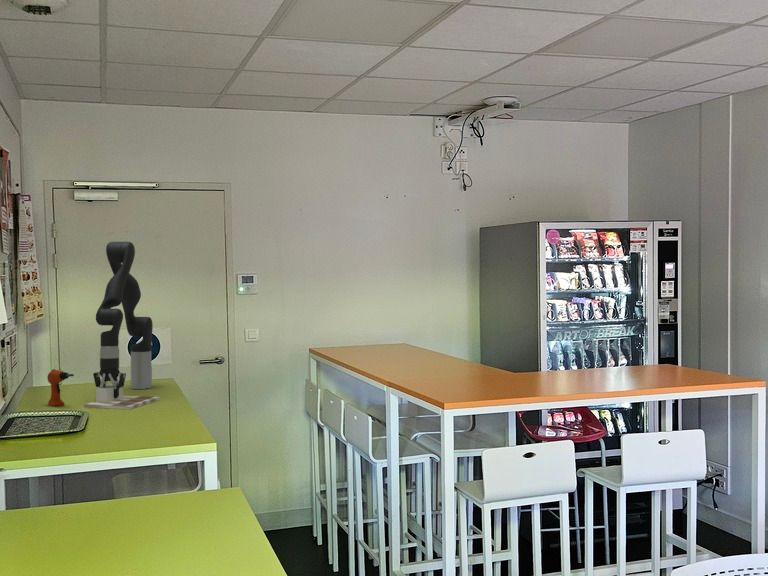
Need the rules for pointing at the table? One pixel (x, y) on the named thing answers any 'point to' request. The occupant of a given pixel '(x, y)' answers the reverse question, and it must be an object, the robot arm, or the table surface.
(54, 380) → the toy drill
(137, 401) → the subfloor panel
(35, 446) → the table surface
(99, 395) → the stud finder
